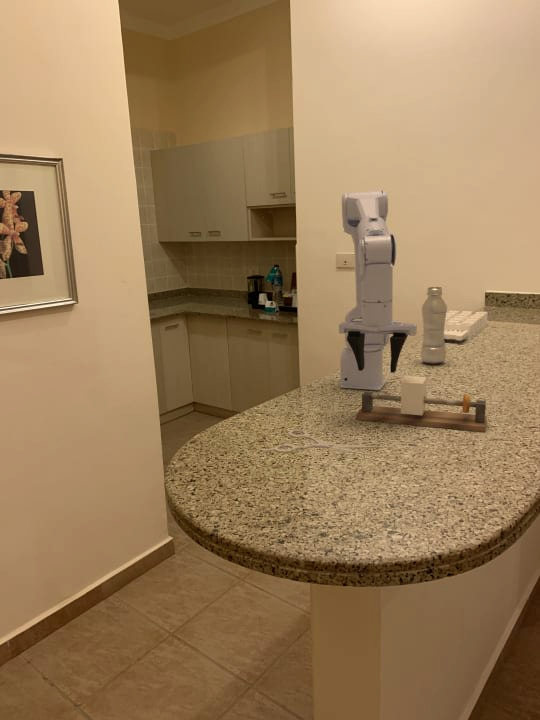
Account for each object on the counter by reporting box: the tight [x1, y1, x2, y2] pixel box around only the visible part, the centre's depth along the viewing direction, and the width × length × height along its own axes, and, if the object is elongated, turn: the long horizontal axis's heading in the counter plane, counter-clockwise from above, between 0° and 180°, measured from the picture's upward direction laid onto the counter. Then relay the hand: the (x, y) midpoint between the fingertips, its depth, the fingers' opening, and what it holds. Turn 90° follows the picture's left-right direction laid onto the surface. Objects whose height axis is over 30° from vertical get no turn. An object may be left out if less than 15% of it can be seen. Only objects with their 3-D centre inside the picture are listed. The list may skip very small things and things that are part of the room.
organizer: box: [444, 310, 489, 341], centre depth 179 cm, size 13×5×35 cm
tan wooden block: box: [400, 375, 427, 415], centre depth 103 cm, size 4×4×6 cm
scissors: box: [262, 429, 379, 458], centre depth 94 cm, size 11×1×20 cm
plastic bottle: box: [420, 286, 448, 365], centre depth 142 cm, size 6×7×20 cm
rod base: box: [355, 391, 488, 433], centre depth 103 cm, size 24×6×6 cm, turn 66°
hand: (377, 370), depth 105 cm, fingers open, 6 cm apart
